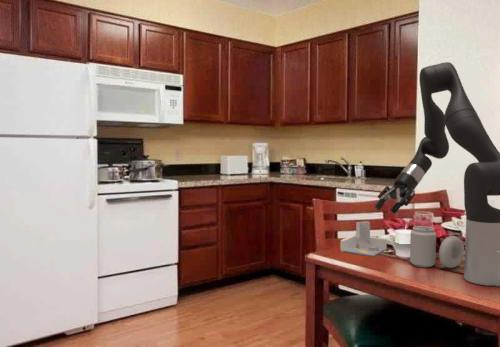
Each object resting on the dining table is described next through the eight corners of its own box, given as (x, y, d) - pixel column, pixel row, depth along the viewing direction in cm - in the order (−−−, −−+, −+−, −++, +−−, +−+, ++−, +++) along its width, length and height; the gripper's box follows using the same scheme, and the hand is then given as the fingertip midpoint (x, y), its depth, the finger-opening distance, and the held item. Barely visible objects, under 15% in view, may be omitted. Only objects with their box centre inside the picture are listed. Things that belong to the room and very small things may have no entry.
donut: (446, 271, 127) (447, 239, 126) (435, 269, 130) (436, 236, 129) (465, 266, 132) (466, 235, 131) (455, 264, 135) (456, 233, 134)
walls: (386, 249, 153) (386, 238, 153) (373, 256, 144) (373, 245, 143) (354, 244, 161) (355, 234, 160) (340, 251, 151) (340, 240, 151)
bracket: (378, 251, 149) (379, 224, 148) (368, 252, 147) (368, 225, 146) (366, 246, 155) (366, 221, 155) (356, 248, 154) (356, 222, 153)
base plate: (385, 250, 152) (385, 248, 152) (373, 256, 144) (373, 255, 144) (356, 245, 159) (356, 244, 159) (343, 251, 150) (343, 250, 150)
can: (437, 268, 130) (438, 230, 129) (412, 267, 131) (412, 229, 130) (432, 262, 137) (433, 225, 136) (408, 260, 139) (408, 224, 138)
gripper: (391, 170, 165) (366, 201, 161) (418, 172, 152) (392, 206, 148) (401, 183, 167) (377, 214, 164) (429, 186, 154) (403, 220, 150)
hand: (384, 210), depth 156 cm, fingers open, 8 cm apart
